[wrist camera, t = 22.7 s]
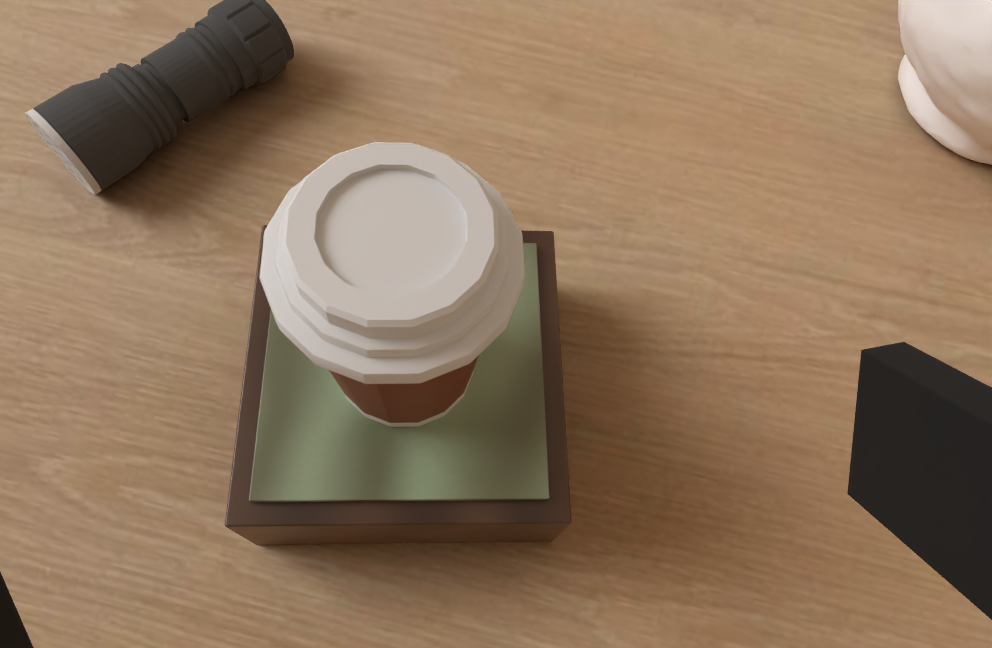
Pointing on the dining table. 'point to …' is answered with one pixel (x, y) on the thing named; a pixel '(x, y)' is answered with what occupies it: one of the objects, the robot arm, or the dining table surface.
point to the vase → (949, 72)
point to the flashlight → (161, 91)
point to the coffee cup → (394, 276)
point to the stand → (407, 441)
